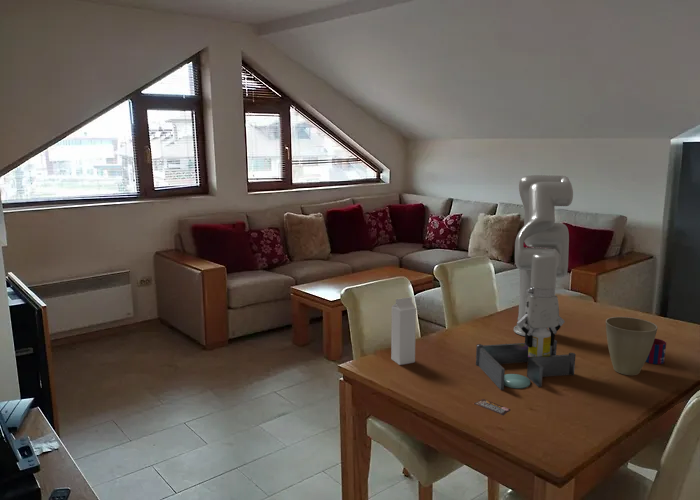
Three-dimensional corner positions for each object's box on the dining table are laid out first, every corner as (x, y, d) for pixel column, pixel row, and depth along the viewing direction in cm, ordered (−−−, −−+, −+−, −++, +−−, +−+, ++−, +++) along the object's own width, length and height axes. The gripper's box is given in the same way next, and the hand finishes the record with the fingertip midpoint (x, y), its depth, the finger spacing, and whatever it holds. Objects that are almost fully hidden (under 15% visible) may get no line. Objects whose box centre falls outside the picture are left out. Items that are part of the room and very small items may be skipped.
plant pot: (650, 384, 177) (655, 334, 174) (598, 374, 185) (601, 326, 182) (654, 367, 190) (659, 321, 187) (605, 358, 198) (609, 313, 194)
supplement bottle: (549, 357, 192) (551, 320, 189) (549, 365, 186) (552, 326, 183) (528, 355, 194) (530, 318, 191) (527, 362, 188) (529, 324, 185)
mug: (659, 366, 191) (661, 346, 190) (628, 357, 199) (630, 338, 197) (667, 361, 195) (669, 341, 194) (637, 352, 203) (639, 334, 202)
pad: (495, 377, 183) (495, 374, 183) (522, 375, 185) (522, 373, 185) (507, 389, 175) (507, 386, 175) (535, 387, 176) (535, 384, 176)
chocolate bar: (514, 412, 162) (514, 409, 161) (504, 417, 158) (504, 415, 158) (481, 399, 169) (481, 396, 169) (471, 404, 166) (471, 401, 166)
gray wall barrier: (474, 363, 194) (475, 344, 193) (554, 358, 198) (555, 339, 197) (499, 390, 174) (500, 368, 173) (586, 383, 178) (588, 362, 177)
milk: (415, 362, 196) (416, 299, 191) (399, 365, 193) (400, 301, 189) (406, 356, 201) (407, 294, 197) (390, 358, 199) (391, 296, 194)
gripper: (522, 296, 180) (519, 351, 184) (574, 293, 183) (570, 347, 186) (511, 290, 187) (509, 342, 191) (562, 287, 190) (558, 339, 194)
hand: (539, 344), depth 189 cm, fingers closed on supplement bottle, 6 cm apart
